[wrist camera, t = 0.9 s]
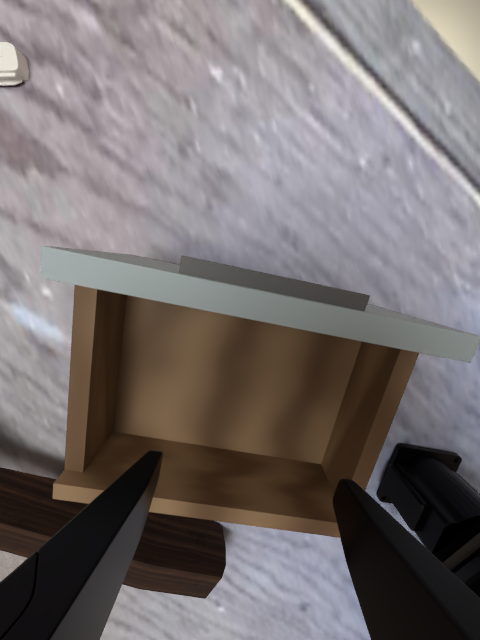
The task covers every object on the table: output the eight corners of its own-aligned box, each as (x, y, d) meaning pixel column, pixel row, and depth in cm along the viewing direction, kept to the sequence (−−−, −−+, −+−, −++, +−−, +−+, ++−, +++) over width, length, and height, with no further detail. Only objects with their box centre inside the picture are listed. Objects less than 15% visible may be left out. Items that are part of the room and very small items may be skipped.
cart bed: (367, 322, 20) (435, 351, 13) (322, 459, 23) (358, 540, 16) (124, 273, 19) (62, 277, 12) (108, 425, 22) (52, 498, 15)
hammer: (225, 484, 28) (-79, 383, 20) (238, 629, 18) (-394, 536, 10) (205, 513, 29) (-94, 427, 21) (206, 667, 18) (-401, 611, 10)
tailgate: (376, 296, 18) (488, 320, 10) (368, 320, 18) (470, 362, 10) (132, 244, 16) (41, 225, 9) (129, 271, 17) (40, 277, 9)
